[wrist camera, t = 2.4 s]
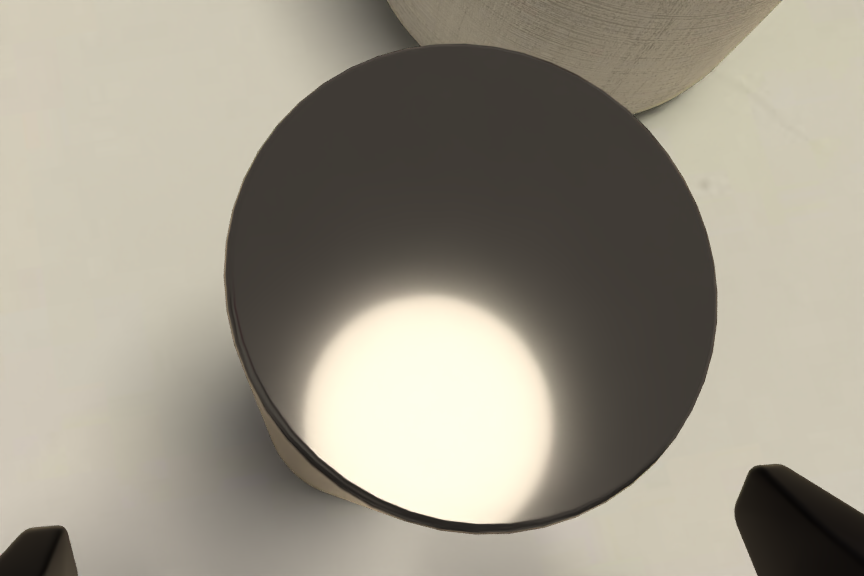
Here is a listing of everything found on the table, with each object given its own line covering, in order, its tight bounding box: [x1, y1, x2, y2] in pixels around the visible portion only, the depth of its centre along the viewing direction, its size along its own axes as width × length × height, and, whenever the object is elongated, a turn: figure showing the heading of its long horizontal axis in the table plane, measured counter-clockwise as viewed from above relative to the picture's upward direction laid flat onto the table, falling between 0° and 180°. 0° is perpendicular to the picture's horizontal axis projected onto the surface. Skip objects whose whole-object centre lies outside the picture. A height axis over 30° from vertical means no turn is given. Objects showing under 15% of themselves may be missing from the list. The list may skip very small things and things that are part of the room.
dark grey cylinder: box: [224, 43, 717, 535], centre depth 13 cm, size 5×5×13 cm
